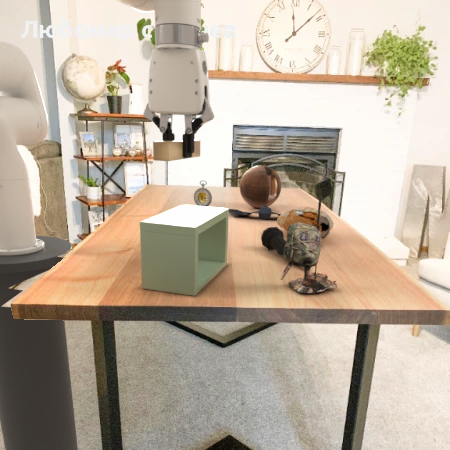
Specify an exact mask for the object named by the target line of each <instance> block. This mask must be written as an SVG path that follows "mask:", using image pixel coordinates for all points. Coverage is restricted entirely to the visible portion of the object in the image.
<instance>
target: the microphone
mask: <svg viewBox="0 0 450 450" xmlns="http://www.w3.org/2000/svg"><path fill="white" fill-rule="evenodd" d="M284 237H285V236H284V232H283V231H282V230H281V229H280V228H279V227H278V226H269V227H266V228H265V229H264V230H263V231H262V234H261V237H260V240H261V245H262V246H263V247H265V249H267V250H268V251H269V250H270V251H271V250H275V251H276V253H277V254H278V255H279V256H283V257H284V247H285V245H286V240H287V239H285V238H284ZM292 264H294V265H297V266H299V267H301V268H303V266H302V265H301V264H299V263H296V262H293V261H292Z"/></svg>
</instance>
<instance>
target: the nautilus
mask: <svg viewBox="0 0 450 450" xmlns="http://www.w3.org/2000/svg"><path fill="white" fill-rule="evenodd" d="M280 214H281V215H280V216H278V217H277V219H276V222H277V225H278V226H279V227H280V228H282V229H284V230H285V231H286V232H287V230H288V227H289V226H290V225H291V224H294V223H303V224H308V225H313V226H315V227H316V228H317V215H318V209H316V208H314V207H309V206H306V207H297V208H293V209H290V210H286V211H284V212H282V213H280ZM334 224H335V222H334V221H333V219H332V218H331V216H330V215H329V214H328V213H327V212H326V211H324V210H320V218H319V231H320V232H321V239H322V240H325V239H326V238H327V237H328V235H329V234H330V232H331V231H332V229H333V228H334V226H335V225H334Z"/></svg>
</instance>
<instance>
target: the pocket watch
mask: <svg viewBox="0 0 450 450" xmlns="http://www.w3.org/2000/svg"><path fill="white" fill-rule="evenodd" d="M204 183H205V184H204ZM207 184H208V182H207V181H206V180H200V181H199V185H200V186H201V187H199V188H197V189H196V190H195V191H194V193H193V201H194V203H195V204H196V206H207V207H210V205H211V203H212V201H213V195H212V193H211V191H210V190H209V189H208V188H206V187H205V186H206V185H207Z"/></svg>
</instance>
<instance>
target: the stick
mask: <svg viewBox="0 0 450 450" xmlns="http://www.w3.org/2000/svg"><path fill="white" fill-rule="evenodd" d="M152 155H153V161H155V162H156V161H158V162H159V161H160V162H172V161H180V160H185V159H186V160H187V158H184V157H183V139H175V140H171V141H163V140H155V141H152ZM199 157H201V140H200V139H194V153H192V157H190V158H189V159H191V158H199Z"/></svg>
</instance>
